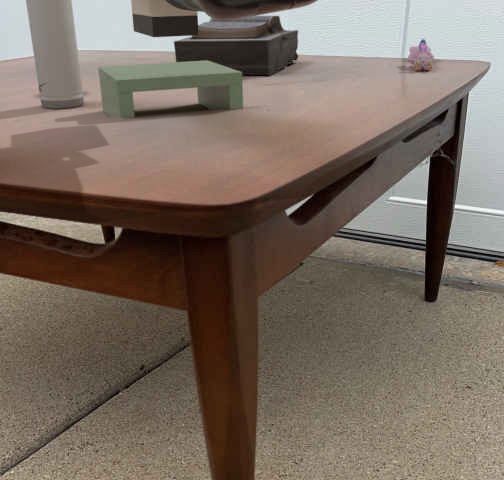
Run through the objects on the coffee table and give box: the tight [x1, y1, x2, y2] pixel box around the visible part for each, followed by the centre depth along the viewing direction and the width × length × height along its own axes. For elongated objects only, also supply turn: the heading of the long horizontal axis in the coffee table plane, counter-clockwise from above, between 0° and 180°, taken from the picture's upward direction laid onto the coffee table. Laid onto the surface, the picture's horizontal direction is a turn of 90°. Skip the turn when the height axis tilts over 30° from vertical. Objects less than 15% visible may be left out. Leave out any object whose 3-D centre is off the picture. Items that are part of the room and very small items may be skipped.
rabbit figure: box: [405, 38, 440, 73], centre depth 135 cm, size 6×6×15 cm
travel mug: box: [25, 0, 85, 110], centre depth 99 cm, size 6×7×20 cm
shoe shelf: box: [97, 60, 244, 119], centre depth 93 cm, size 16×16×6 cm
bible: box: [173, 15, 299, 76], centre depth 140 cm, size 23×27×10 cm
